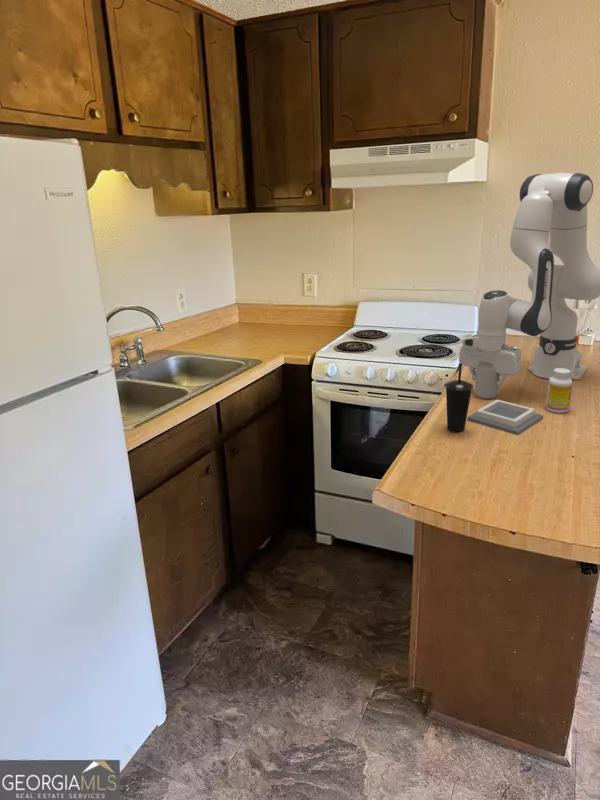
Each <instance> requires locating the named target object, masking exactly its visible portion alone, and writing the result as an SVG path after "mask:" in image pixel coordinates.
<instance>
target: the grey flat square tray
mask: <svg viewBox="0 0 600 800" xmlns="http://www.w3.org/2000/svg"><path fill="white" fill-rule="evenodd" d="M543 418H544V415H543V414H540V413H536V408H532V407H528V406H525V405H520V404H515V403H512V402H508V401H504V400H500V399H496V400H493V401H492V402H489V403H488V404H487V405H484V406H483V407H481V408H479V409H477V410H476V412H474V413H472V414H470V415H468V416H467V418H466V421H470V422H472V423H476V424H479V425H483V426H486V427H489V428H493V429H496V430H500V431H504V432H507V433H510V434H514V435H517V436H518V435H520V434H521V433H523V432H524V431H526V430H527V429H529V428H531V427H532V426H533V425H535V424H536V423H538V422H540V421H541V420H542V419H543Z"/></svg>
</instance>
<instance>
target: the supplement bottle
mask: <svg viewBox="0 0 600 800" xmlns="http://www.w3.org/2000/svg"><path fill="white" fill-rule="evenodd" d="M553 374H554V376H553V377H551V378H550V379H548V383H547V384H548V385H547V393H546V399H545V400H546V401H545V409H546V410H547V411H548V412H550V413H551V412H552V413H555V414H556V413H557V414H561V413H563V414H565V413H567V412H568V411H569V410H570V403H571V395H572V388H573V379H570V378H569V376H570V370H568V369H564V368H556V369H554V372H553Z"/></svg>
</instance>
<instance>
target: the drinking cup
mask: <svg viewBox="0 0 600 800" xmlns="http://www.w3.org/2000/svg"><path fill="white" fill-rule="evenodd" d="M462 367H463V365H462V363H459V364H458V374H457V375H458V377H457V379H453V380H450V381H447V382H446V383H444V387H445V393H446V395H445V397H446V427H447V431H449V432H452V433H462V432H464V431H465V428H466V423H467V417H468V412H469V407H470V401H471V395H472V390H473V389H474V385H473V384H472V383H471V382H468V381H467V380H463V379H462Z"/></svg>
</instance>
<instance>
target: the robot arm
mask: <svg viewBox="0 0 600 800" xmlns="http://www.w3.org/2000/svg"><path fill="white" fill-rule="evenodd" d="M593 192H594V184H593V180H592V179H591V178H590V176H589V175H588V174H586V173H585V174H584V173H580V172H576V173H572V172H555V173H554V172H553V173H552V172H551V173H543V174H541V173H537V174H533V175H530V176H528V177H526V178H525V180H524V181H523V182H522V183H521V185H520V189H519V201H520V204H519V206H518V208H517V211H516V215H515V217H514V222H513V226H512V230H511V234H510V239H509V240H510V241H509V242H510V243H509V244H510V245H509V246H510V249H511V251H512V253H513V254H514V256H515V257H517V259H519V260H520V261H522V263H524V264H526V265H527V267H528V268H529V269H530V270H531V271H530V272H529V275H528V277H527V286H528V288H529V290H530V291H531V293H532V294H531V301H527V300H522V299H518V298H514V297H512V296H510V295H509V294H508V292H507V291H505V290H501V289H500V290H499V289H498V290H491V291H487V292H486V293H484V294H483V295H482V297H481V300H480V303H479V308H478V318H477V319H478V329H477V330H476V331H477V332H476V334H474V335H470V336H467V337H465V338H463V339H462V341H461V344H462V345H461V347H460V350H459V355H458V362H459V363H462V366H464V367H469V368H468V370H469V372H470V374H471V380H472V381H475V379H476V367H477V365H479V362H480V363H482V364H486V365H493V368H494V369H495V372H496V373H500V378H499V380H497V384H496V385H497V386H499V387H502V386H503V385H504V381H505V380H506V379H507V377H508V376H511V377H514V376H517V375H518V374H519V373H520V372H521V357H522V351H521V350H520V349H519V348H518V347H517V346H513V345H508V344H506V340H507V339H506V336H507V329H510V330H512V331H516V332H521V333H523V334H525V335H528V336H531V337H538V336H539V341H538V345H539V346H538V347H536V348H535V349H534V352H533V358H532V362H531V365H528V367H527V370H528V371H531V373H532V374H533V375H535V376H536V377H538V378H544V379H548V380H549V379H550V378H551V377H553V376H554V374H553V372H554V369H556V368H564V369H568V370H570V376H569V378H570V379H571V380H581V378H582V376H583V375H584V374H585V372H586V371H587V369H588V366H587V365H585V364H582V353H581V352H580V351H579V350H578V348H577V343H578V341H579V339H580V337H579V335H576V334H577V327H578V321H579V318H578V314H577V313H576V312H575V311H574V310H573V309H572V308H570V306H568V305H567V303H566V299H569V300H574V301H575V300H577V301H589V300H590V301H591V300H596V299H598V298H599V297H600V269H599V268H598V267H597V266H596V264H595V263H594V262H593V261H592V259H591V256H590V254H589V251H588V245H587V244H588V243H587V236H588V235H587V232H588V204H589V202H590V201H591V198H592V196H593ZM555 256H556V257H557V258H559V260H560V261H562V264H555Z"/></svg>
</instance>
